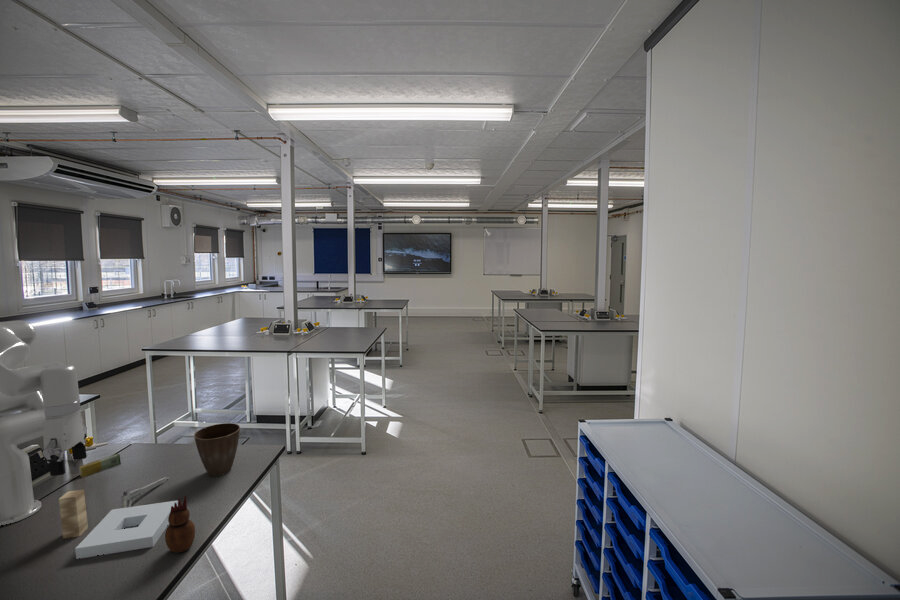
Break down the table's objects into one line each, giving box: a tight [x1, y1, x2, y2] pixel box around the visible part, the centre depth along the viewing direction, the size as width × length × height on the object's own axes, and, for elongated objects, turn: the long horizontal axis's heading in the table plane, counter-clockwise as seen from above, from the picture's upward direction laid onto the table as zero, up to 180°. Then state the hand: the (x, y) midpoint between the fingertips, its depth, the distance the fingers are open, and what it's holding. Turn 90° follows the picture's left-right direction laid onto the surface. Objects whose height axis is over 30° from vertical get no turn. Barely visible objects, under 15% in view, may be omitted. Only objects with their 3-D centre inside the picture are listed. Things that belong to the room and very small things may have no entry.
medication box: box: [78, 453, 122, 478], centre depth 158 cm, size 12×3×4 cm, turn 147°
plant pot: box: [193, 422, 241, 477], centre depth 155 cm, size 15×15×16 cm
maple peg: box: [58, 489, 89, 540], centre depth 120 cm, size 4×4×12 cm
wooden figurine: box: [164, 494, 196, 554], centre depth 113 cm, size 7×6×15 cm
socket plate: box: [74, 499, 178, 560], centre depth 121 cm, size 18×18×3 cm
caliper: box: [120, 477, 170, 508], centre depth 141 cm, size 20×1×6 cm, turn 179°
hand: (69, 466), depth 119 cm, fingers open, 9 cm apart
